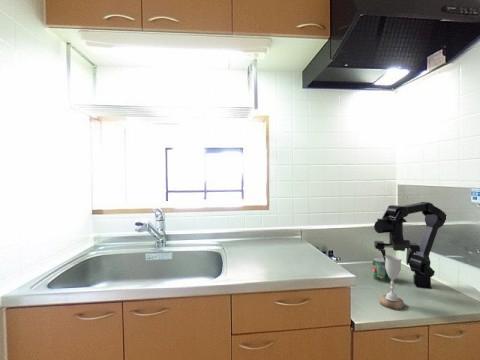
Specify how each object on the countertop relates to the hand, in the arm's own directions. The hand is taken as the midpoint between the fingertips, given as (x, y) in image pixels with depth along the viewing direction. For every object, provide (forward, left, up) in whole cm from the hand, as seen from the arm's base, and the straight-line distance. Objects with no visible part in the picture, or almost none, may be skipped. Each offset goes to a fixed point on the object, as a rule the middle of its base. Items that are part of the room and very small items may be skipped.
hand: (396, 263), depth 129 cm
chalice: (+5, +16, -11) cm, 20 cm away
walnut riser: (+5, +16, -14) cm, 22 cm away
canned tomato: (+5, -12, -13) cm, 19 cm away
